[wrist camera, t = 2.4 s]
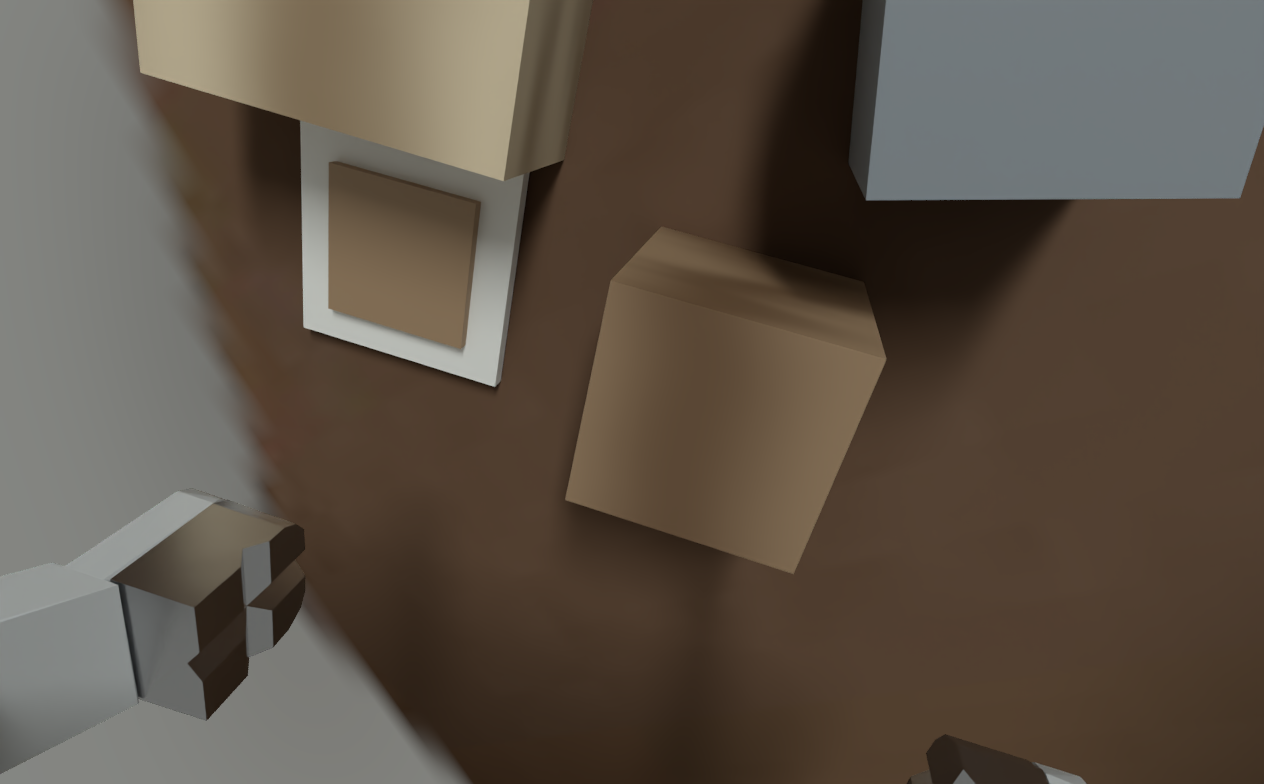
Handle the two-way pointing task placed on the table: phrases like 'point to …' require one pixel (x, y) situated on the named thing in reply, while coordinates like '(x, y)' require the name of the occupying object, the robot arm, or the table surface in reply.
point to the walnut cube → (724, 395)
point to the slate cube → (1057, 99)
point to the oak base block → (388, 69)
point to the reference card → (408, 253)
